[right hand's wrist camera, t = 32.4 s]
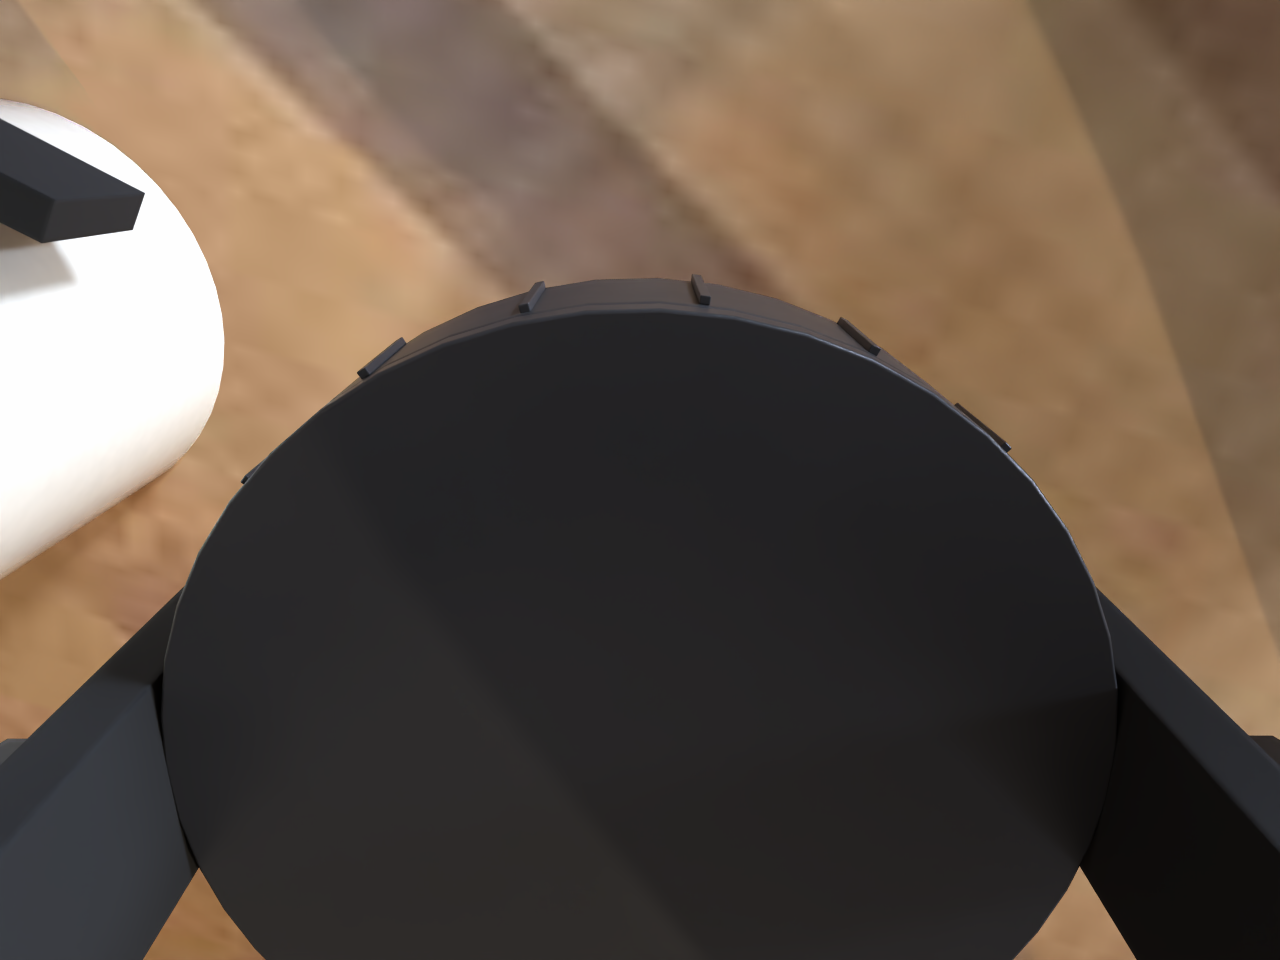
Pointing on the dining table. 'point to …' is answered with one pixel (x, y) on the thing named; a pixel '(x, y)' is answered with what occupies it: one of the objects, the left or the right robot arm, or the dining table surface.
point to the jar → (97, 355)
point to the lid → (639, 653)
